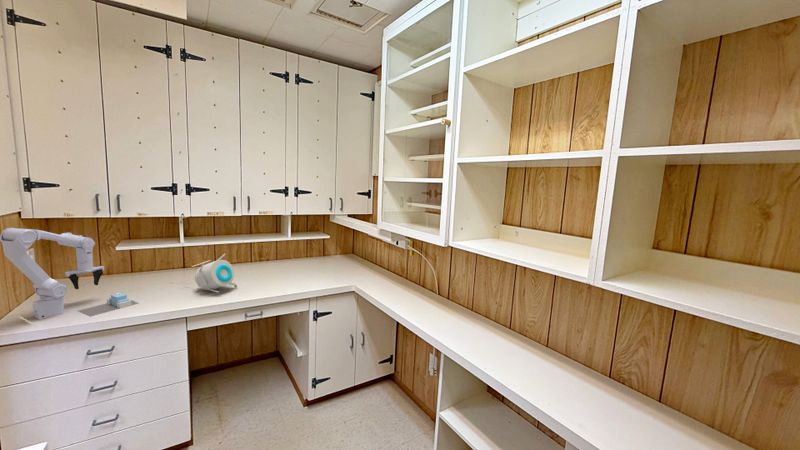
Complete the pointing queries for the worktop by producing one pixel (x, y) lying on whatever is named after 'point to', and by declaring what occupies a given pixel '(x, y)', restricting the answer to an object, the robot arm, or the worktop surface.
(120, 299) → the block
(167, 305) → the worktop surface
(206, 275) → the satellite
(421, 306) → the worktop surface
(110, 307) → the plate
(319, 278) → the worktop surface
